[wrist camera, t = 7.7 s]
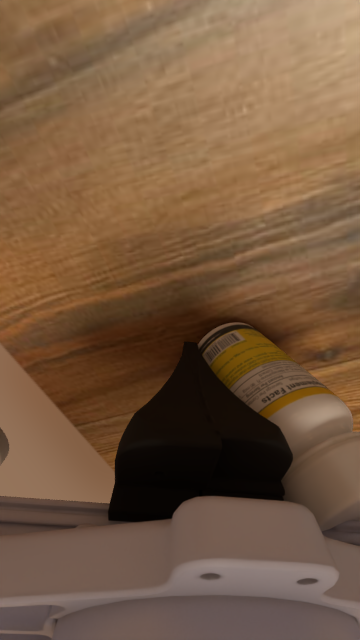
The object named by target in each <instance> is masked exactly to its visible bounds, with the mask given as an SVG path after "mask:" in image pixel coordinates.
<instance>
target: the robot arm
mask: <svg viewBox="0 0 360 640" xmlns="http://www.w3.org/2000/svg"><path fill="white" fill-rule="evenodd" d="M292 461H293V454H292V451H291V449H290V447H289V445H288V443H287V441H286V438H285V436H284V435H283V433H282V431H281V429H280V428H279V426H277V425H276V424H274V423H273V422H271V421H270V420H268V419H266V418H265V417H263V416H262V415H260V414H259V413H257V412H256V411H255V410H253V409H252V408H251V407H249V406H248V405H247V404H246V403H244V402H243V401H242V400H241V399H239V398H238V397H237V396H236V395H235V394H234V393H233V392H232V391H231V390H230V389H228V388H227V386H226V385H225V384H224V383H223V382H222V381H221V380H220V379H219V378H218V377H217V375H216V374H215V373H214V372H213V370H212V369H211V368H210V366H209V365H208V363H207V362H206V360H205V359H204V357H203V356H202V354H201V352H200V351H199V348H198V345H197V343H193V342H184V346H183V352H182V356H181V358H180V361H179V363H178V365H177V366H176V368H175V370H174V372H173V373H172V375H171V376H170V378H169V379H168V381H167V382H166V383H165V385H164V386H163V387H162V388H161V389H160V391H159V392H158V393H157V394H156V395H155V396H154V397H153V398H152V399H151V400H150V401H149V402H148V403H147V404H146V405H144V406H143V407H142V408H141V409H140V410H138V411H137V412H136V413H135V414H134V416H133V417H132V419H131V421H130V422H129V424H128V426H127V428H126V429H125V431H124V433H123V436H122V438H121V441H120V443H119V446H118V450H117V455H116V459H115V485H114V489H113V493H112V497H111V501H110V504H107V503H92V502H78V501H64V500H50V499H34V498H20V497H6V496H0V640H360V521H354V520H348V521H345V522H343V523H341V524H338V525H336V526H334V527H333V528H331V529H328V530H325V531H321V530H320V528H319V525H318V523H317V521H316V519H315V516H314V514H313V513H312V512H311V511H310V510H309V509H308V508H307V507H305V506H304V505H302V504H298V503H293V502H289V501H284V499H283V496H284V495H285V490H284V487H283V485H282V482H281V480H282V479H283V477H284V476H285V474H286V473H287V471H288V470H289V468H290V466H291V464H292Z"/></svg>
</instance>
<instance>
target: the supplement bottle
mask: <svg viewBox="0 0 360 640" xmlns="http://www.w3.org/2000/svg"><path fill="white" fill-rule="evenodd" d="M198 348H199V351H200V352H201V354H202V356H203V357H204V359H205V360H206V362H207V363H208V365H209V366H210V368H211V369H212V370H213V372H214V373H215V374H216V375H217V377H218V378H219V379H220V380H221V381H222V382H223V383H224V384H225V385H226V386H227V388H228V389H230V390H231V391H232V392H233V393H234V394H235V395H236V396H237V397H238V398H239V399H241V400H242V401H243V402H244V403H246V404H247V405H248V406H249V407H251V408H252V409H253V410H255V411H256V412H257V413H259V414H260V415H262V416H263V417H265V418H266V419H268V420H270V421H271V422H273V423H274V424H276V425H277V426H279V428H280V429H281V431H282V433H283V435H284V436H285V438H286V441H287V443H288V445H289V447H290V449H291V451H292V454H293V461H292V464H291V466H290V468H289V470H288V471H287V473H286V474H285V476H284V477H283V479H282V480H281V482H282V485H283V487H284V490H285V495H284V496H283V499H284V501H289V502H293V503H298V504H302V505H304V506H305V507H307V508H308V509H309V510H310V511H311V512H312V513H313V514H314V516H315V519H316V521H317V523H318V525H319V528H320V530H321V531H325V530H328V529H331V528H333V527H334V526H336V525H338V524H341V523H343V522H345V521H348V520H354V521H360V432H352V429H353V418H352V415H351V412H350V410H349V409H348V407H347V406H346V405H345V403H344V402H343V401H342V400H341V399H339V398H338V397H337V396H336V395H335V394H334V393H333V392H331V391H330V390H329V389H328V388H327V387H325V386H324V385H323V384H322V383H321V382H319V381H318V380H317V379H316V378H314V377H313V376H312V375H311V374H310V373H308V372H307V371H306V370H305V369H304V368H302V367H301V366H300V365H299V364H297V363H296V362H295V361H294V360H293V359H291V358H290V357H289V356H288V355H287V354H285V353H284V352H283V351H282V350H281V349H279V348H278V347H277V346H276V345H275V344H273V343H272V342H271V341H270V340H268V339H267V338H266V337H265V336H264V335H262V334H261V333H260V332H259V331H258V330H256V329H255V328H254V327H252V326H250V325H248V324H245V323H240V322H234V323H227V324H224V325H221V326H219V327H217V328H215V329H213V330H212V331H210V332H209V333H208V334H206V335H205V336H204V337H203V338H202V340H201V341H200V342H199V344H198Z"/></svg>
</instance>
